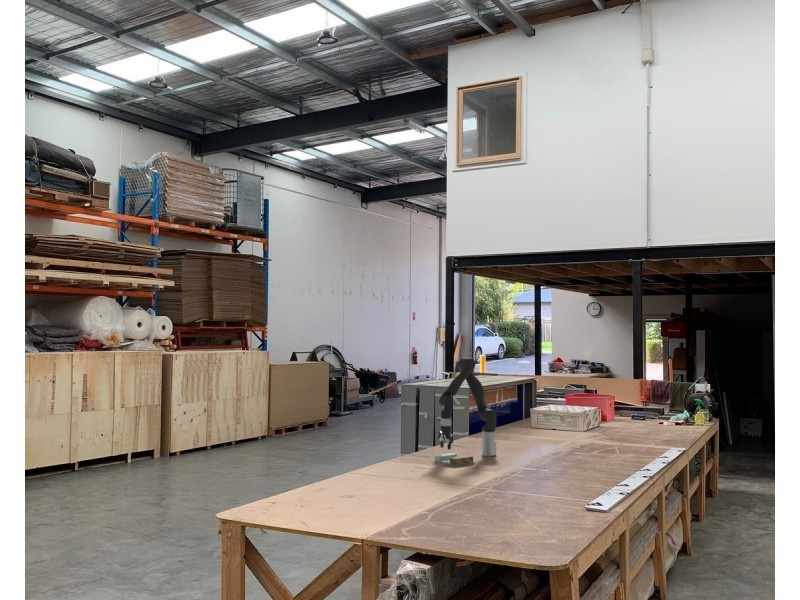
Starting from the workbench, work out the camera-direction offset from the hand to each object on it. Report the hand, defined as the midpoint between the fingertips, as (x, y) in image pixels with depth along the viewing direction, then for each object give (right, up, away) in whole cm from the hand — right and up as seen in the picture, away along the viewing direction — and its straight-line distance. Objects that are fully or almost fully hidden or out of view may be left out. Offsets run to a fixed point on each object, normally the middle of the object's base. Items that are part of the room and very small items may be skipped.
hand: (445, 448), depth 455 cm
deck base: (+7, -8, -11) cm, 15 cm away
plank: (0, -9, 0) cm, 9 cm away
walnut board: (+10, -7, -16) cm, 19 cm away
